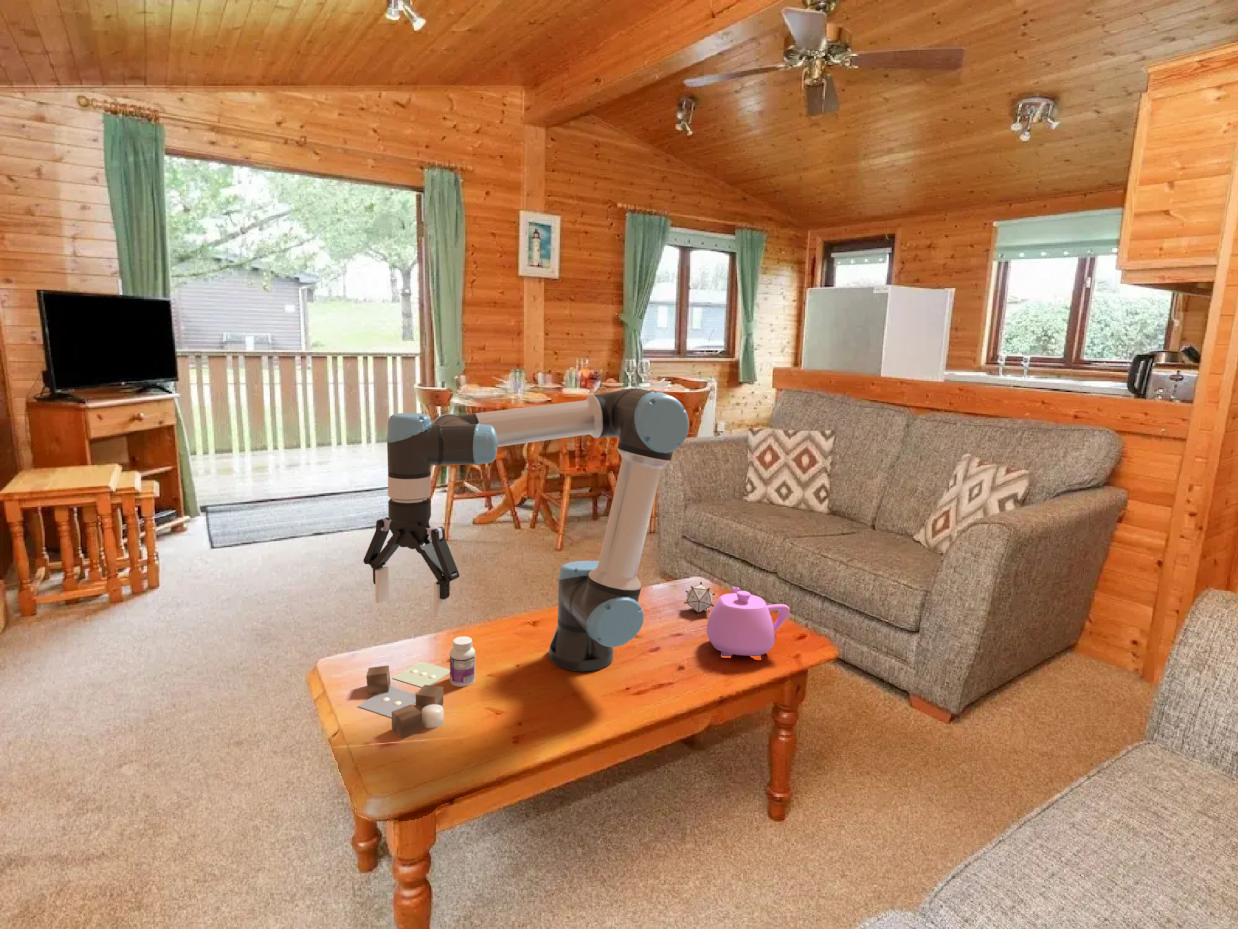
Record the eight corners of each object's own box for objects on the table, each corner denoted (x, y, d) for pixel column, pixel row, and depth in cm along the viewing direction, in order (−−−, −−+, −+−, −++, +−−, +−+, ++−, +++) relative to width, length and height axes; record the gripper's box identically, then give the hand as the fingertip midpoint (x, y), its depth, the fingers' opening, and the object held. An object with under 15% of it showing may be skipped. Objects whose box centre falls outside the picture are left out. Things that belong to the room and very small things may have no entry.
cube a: (443, 705, 139) (443, 687, 139) (435, 715, 136) (434, 697, 135) (424, 703, 140) (424, 684, 139) (415, 713, 136) (415, 694, 135)
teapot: (776, 632, 182) (780, 578, 179) (792, 668, 162) (798, 607, 160) (701, 628, 182) (705, 574, 180) (708, 663, 163) (713, 603, 160)
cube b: (411, 723, 132) (422, 732, 130) (392, 731, 130) (402, 740, 127) (411, 704, 132) (422, 712, 129) (391, 711, 129) (402, 720, 126)
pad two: (424, 698, 141) (424, 696, 141) (393, 719, 133) (393, 717, 133) (389, 688, 145) (389, 686, 145) (357, 707, 137) (357, 706, 137)
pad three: (452, 672, 153) (452, 670, 153) (425, 689, 145) (425, 688, 145) (420, 662, 157) (420, 661, 156) (392, 679, 148) (392, 678, 148)
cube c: (390, 683, 146) (388, 665, 146) (388, 691, 142) (386, 673, 142) (370, 685, 145) (368, 668, 145) (368, 694, 142) (366, 676, 141)
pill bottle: (451, 675, 151) (451, 634, 150) (476, 675, 152) (476, 634, 150) (447, 688, 146) (448, 645, 144) (473, 688, 147) (473, 645, 145)
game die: (693, 626, 193) (675, 601, 189) (695, 605, 200) (678, 581, 196) (721, 616, 189) (704, 591, 186) (723, 595, 196) (706, 570, 193)
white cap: (447, 721, 134) (447, 707, 133) (434, 732, 130) (434, 717, 129) (431, 716, 135) (431, 702, 135) (417, 726, 132) (417, 712, 131)
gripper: (478, 502, 125) (477, 613, 129) (371, 486, 134) (373, 589, 138) (453, 511, 118) (453, 628, 122) (342, 493, 127) (345, 601, 131)
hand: (410, 607), depth 130 cm, fingers open, 13 cm apart
